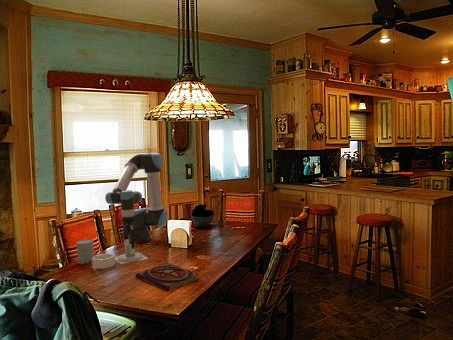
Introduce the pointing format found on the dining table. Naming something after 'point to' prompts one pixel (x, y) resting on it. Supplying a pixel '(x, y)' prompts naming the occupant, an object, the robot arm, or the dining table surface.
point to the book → (167, 276)
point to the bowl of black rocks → (202, 216)
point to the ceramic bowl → (103, 261)
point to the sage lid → (129, 255)
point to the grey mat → (130, 261)
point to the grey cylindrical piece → (85, 251)
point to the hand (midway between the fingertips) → (129, 251)
